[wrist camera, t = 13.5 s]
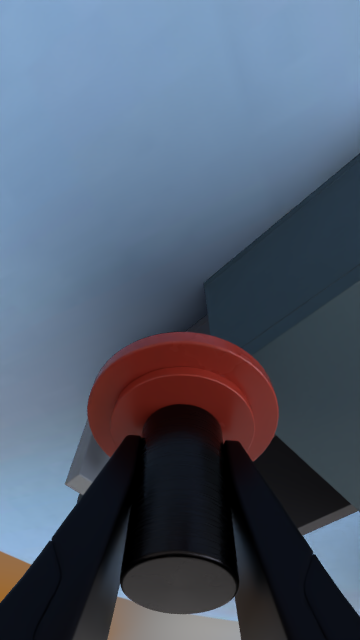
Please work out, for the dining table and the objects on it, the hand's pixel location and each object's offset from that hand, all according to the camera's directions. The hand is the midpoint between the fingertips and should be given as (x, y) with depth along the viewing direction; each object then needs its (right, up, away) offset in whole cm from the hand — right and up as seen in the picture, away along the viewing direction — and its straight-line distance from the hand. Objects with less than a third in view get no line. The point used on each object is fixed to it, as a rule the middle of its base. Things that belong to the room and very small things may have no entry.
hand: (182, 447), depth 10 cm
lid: (0, +1, +1) cm, 2 cm away
